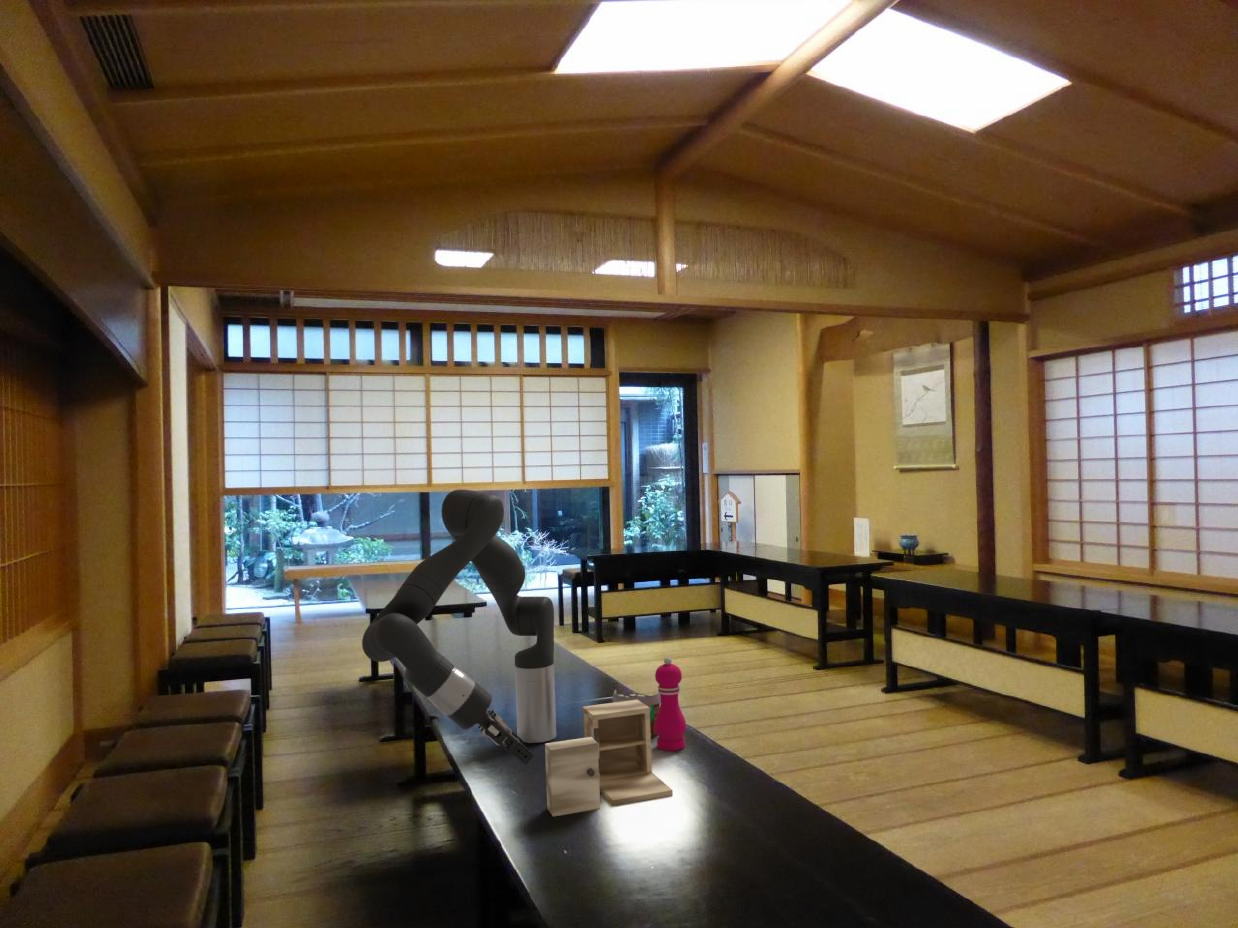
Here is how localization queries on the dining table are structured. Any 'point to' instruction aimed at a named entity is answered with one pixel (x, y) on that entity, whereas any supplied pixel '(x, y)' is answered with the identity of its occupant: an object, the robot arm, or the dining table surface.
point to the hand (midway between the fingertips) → (524, 752)
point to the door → (572, 776)
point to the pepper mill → (669, 708)
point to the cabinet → (624, 751)
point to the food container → (649, 701)
